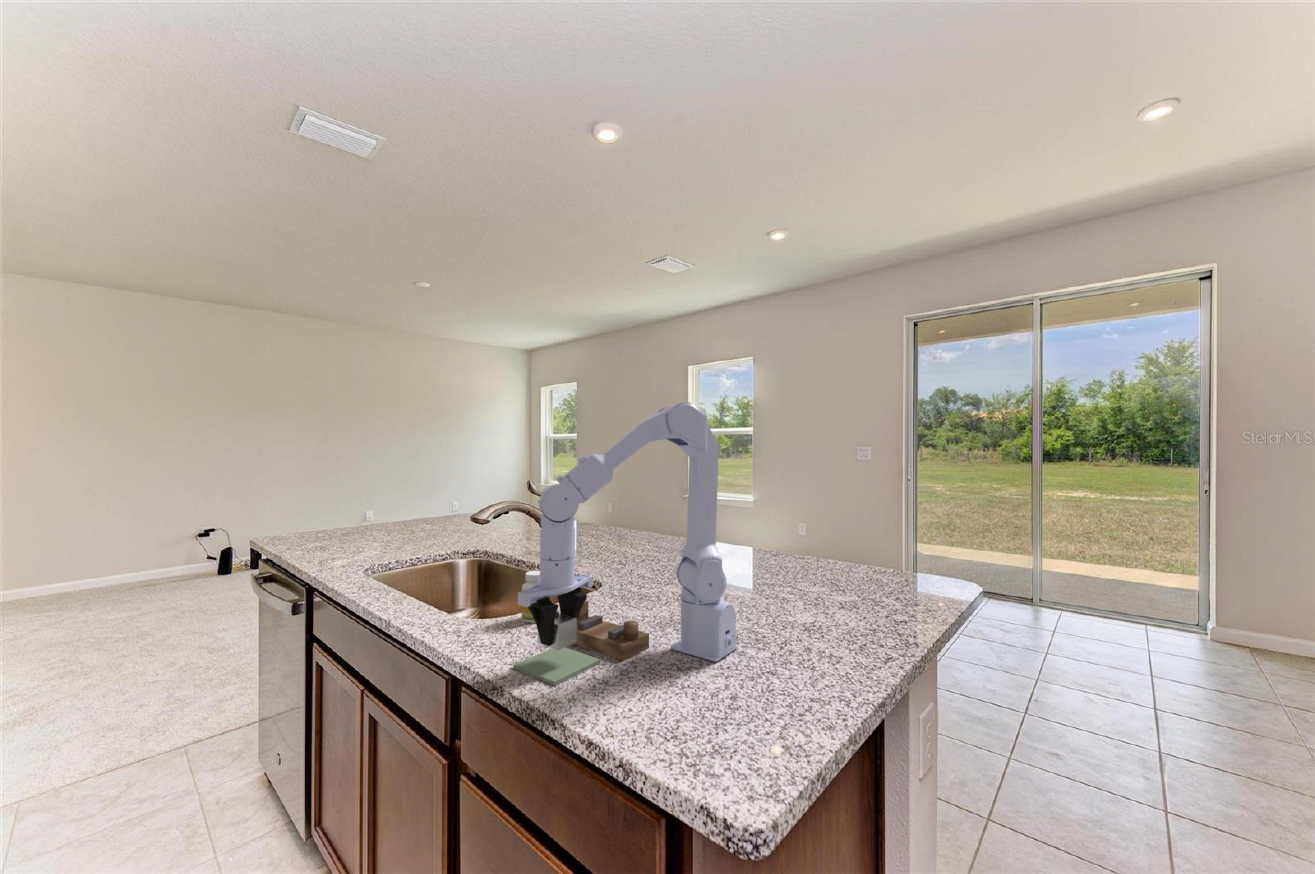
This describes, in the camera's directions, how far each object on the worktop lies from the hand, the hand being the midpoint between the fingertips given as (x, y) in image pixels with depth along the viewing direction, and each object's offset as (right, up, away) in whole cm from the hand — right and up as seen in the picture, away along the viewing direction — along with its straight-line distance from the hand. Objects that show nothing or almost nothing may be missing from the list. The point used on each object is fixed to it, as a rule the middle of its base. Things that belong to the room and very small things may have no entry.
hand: (557, 639), depth 83 cm
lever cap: (0, -1, 0) cm, 0 cm away
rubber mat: (0, -4, 0) cm, 4 cm away
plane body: (+7, -5, +9) cm, 12 cm away
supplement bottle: (-9, -5, +23) cm, 25 cm away
